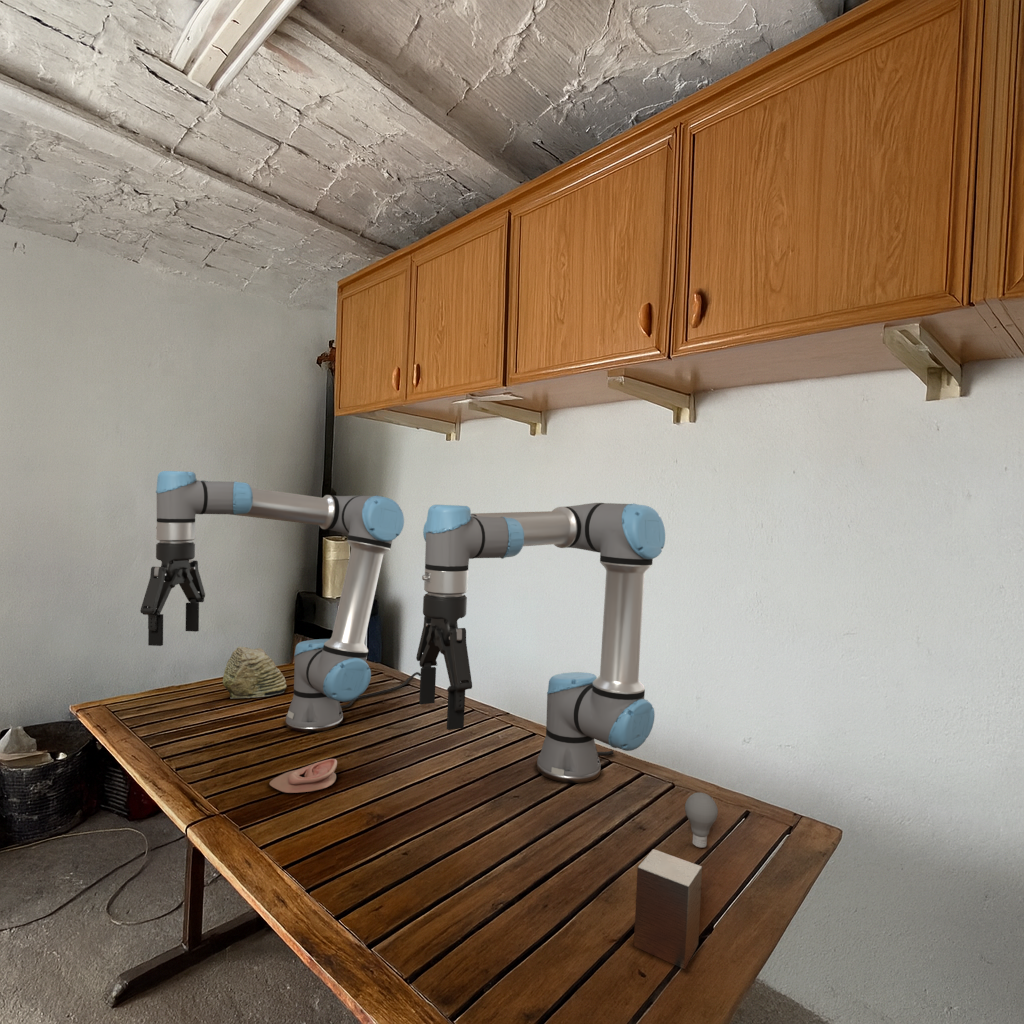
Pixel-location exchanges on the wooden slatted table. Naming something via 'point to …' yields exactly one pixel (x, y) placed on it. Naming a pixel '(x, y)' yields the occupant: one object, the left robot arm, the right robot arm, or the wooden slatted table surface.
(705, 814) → the light bulb
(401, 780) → the wooden slatted table surface
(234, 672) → the fossil
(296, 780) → the anatomical model
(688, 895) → the block
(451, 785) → the wooden slatted table surface
